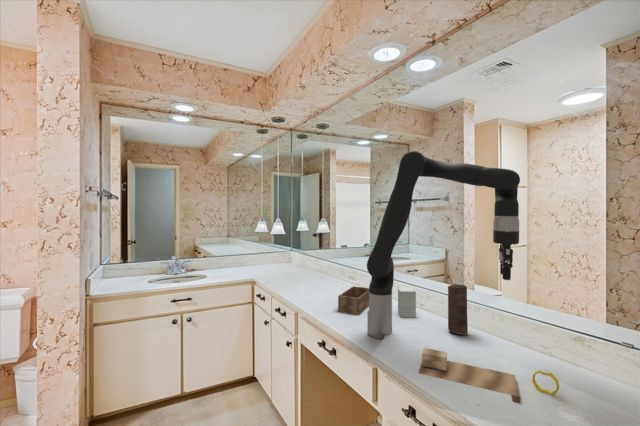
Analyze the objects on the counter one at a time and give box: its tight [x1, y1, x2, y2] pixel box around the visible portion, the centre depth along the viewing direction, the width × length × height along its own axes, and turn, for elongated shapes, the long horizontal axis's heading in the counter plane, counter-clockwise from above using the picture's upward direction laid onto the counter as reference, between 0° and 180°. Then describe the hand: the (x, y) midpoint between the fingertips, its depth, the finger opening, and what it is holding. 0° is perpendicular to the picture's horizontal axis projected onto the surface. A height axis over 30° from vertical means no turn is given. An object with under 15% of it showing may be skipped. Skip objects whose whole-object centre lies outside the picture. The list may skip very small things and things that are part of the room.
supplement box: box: [397, 286, 417, 319], centre depth 146 cm, size 7×7×13 cm
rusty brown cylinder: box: [447, 283, 469, 336], centre depth 125 cm, size 8×7×20 cm
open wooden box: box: [337, 285, 369, 316], centre depth 158 cm, size 11×21×8 cm, turn 153°
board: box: [418, 360, 521, 403], centre depth 91 cm, size 26×12×2 cm, turn 63°
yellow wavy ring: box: [531, 367, 560, 395], centre depth 85 cm, size 6×3×6 cm, turn 42°
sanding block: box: [421, 347, 448, 372], centre depth 95 cm, size 7×4×4 cm, turn 63°
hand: (505, 277), depth 103 cm, fingers open, 8 cm apart
